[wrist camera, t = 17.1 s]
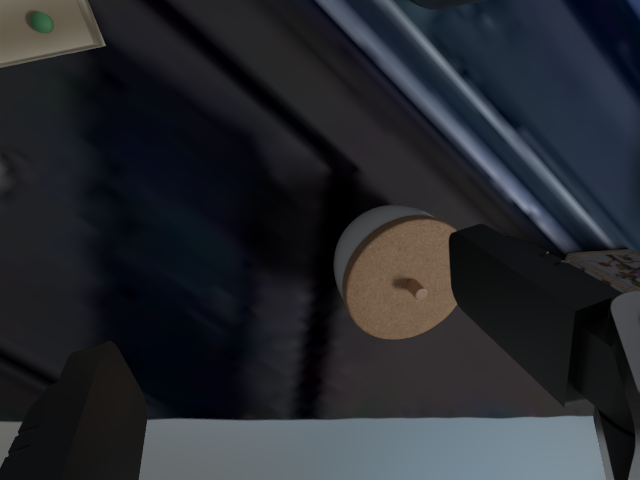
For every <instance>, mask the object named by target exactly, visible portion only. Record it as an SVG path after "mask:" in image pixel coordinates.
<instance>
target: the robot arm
mask: <svg viewBox="0 0 640 480" xmlns="http://www.w3.org/2000/svg"><path fill="white" fill-rule="evenodd" d="M412 1H414V2H415V3H417V4H419V5H420V6H422V7H425V8H428V9H445V8H450V7H455V6H460V5H465V4H471V3H476V2H481V1H486V0H412ZM449 260H450V278H451V289H452V293H453V296H454V298H455V300H456V302H457V304H458V306H459V307H460V308H461V309H462V311H463V312H465V313H466V314H467V315H468V316H469V317H470V318H471V319H472V320H473V321H474V322H475V323H476V324H477V325H478V326H479V327H480V328H481V329H482V330H483V331H484V332H486V333H487V334H488V335H489V336H490V337H491V338H492V339H493V340H494V341H495V342H496V343H497V344H498V345H499V346H500V347H501V348H502V349H503V350H504V351H506V352H507V353H508V354H509V355H510V356H511V357H512V358H513V359H514V360H515V361H516V362H517V363H518V364H519V365H520V366H521V367H522V368H523V369H524V370H525V371H527V372H528V373H529V374H530V375H531V376H532V377H533V378H534V379H535V380H536V381H537V382H538V383H539V384H540V385H541V386H542V387H543V388H544V389H545V390H547V391H548V392H549V393H550V394H551V395H552V396H553V397H554V398H555V399H556V400H557V401H558V402H559V403H560V404H561V405H562V406H563V407H567V406H569V405H572V404H574V403H576V402H579V401H581V400H584V399H587V400H589V401H590V402H591V403H592V404H593V405H594V406H595V408H594V414H593V417H594V423H595V428H596V432H597V438H598V442H599V447H600V452H601V457H602V461H603V466H604V471H605V475H606V480H640V291H633V292H628V293H625V294H624V293H622V292H620V291H619V290H617V289H615V288H613V287H611V286H609V285H608V284H606V283H604V282H602V281H600V280H599V279H597V278H595V277H593V276H591V275H589V274H588V273H586V272H584V271H582V270H580V269H579V268H577V267H575V266H573V265H571V264H569V263H565V262H564V260H562V259H560V258H559V257H557V256H555V255H553V254H551V255H550V254H549V252H548V251H546V250H544V249H542V248H540V247H539V246H537V245H535V244H533V243H531V242H528V241H525V240H521V239H517V238H513V237H509V236H506V237H505V236H504V235H502V234H500V233H498V232H497V231H495V230H493V229H491V228H490V227H488V226H486V225H484V224H478V225H474V226H471V227H468V228H465V229H462V230H459V231H456V232H453V233H451V234H450V236H449ZM146 424H147V408H146V402H145V399H144V396H143V393H142V391H141V389H140V387H139V385H138V384H137V382H136V380H135V378H134V376H133V374H132V373H131V371H130V369H129V367H128V365H127V364H126V362H125V360H124V358H123V356H122V355H121V353H120V351H119V349H118V348H117V346H116V345H115V344H114V343H113V342H111V341H108V342H105V343H102V344H99V345H95V346H92V347H89V348H86V349H83V350H80V351H77V352H74V353H72V354H71V355H70V356H69V357H68V359H67V362H66V364H65V366H64V369H63V371H62V373H61V375H60V378H59V380H58V382H57V383H55V384H52V385H49V387H48V388H47V389H46V390H45V391H44V392H43V393H42V395H41V396H40V397H39V398H38V399H37V400H36V401H35V402H34V404H33V405H32V406H31V407H30V408H29V410H28V412H27V414H26V416H25V418H24V420H23V422H22V425H21V427H20V429H19V431H18V433H19V435H18V436H16V437H15V439H14V441H13V443H12V445H11V447H10V449H9V451H8V453H9V456H8V457H6V458H5V459H4V462H3V464H2V466H1V468H0V480H139V473H140V465H141V458H142V451H143V445H144V438H145V431H146Z"/></svg>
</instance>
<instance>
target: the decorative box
mask: <svg viewBox="0 0 640 480" xmlns="http://www.w3.org/2000/svg"><path fill="white" fill-rule="evenodd" d="M456 231H457V230H456V229H455V228H453V227H452V226H450V225H449V224H447V223H445V222H444V221H442V220H440V219H437V218H435V217H433V216H432V215H430V214H428V213H426V212H424V211H421V210H419V209H416V208H413V207H409V206H403V205H386V206H380V207H376V208H373V209H370V210H368V211H366V212H364V213H363V214H361V215H360V216H358V217H357V218H356V219H354V220H353V221H352V222H351V223H350V224H349V225H348V227H347V228H346V229H345V230H344V232H343V233H342V235H341V237H340V239H339V241H338V243H337V246H336V250H335V254H334V263H333V264H334V275H335V280H336V284H337V287H338V290H339V293H340V295H341V297H342V299H343V301H344V303H345V306H346V308H347V310H348V313H349V314H350V316H351V318H352V319H353V320H354V322H355V323H356V325H358V326H359V327H360V328H361V329H362V330H363V331H365V332H367V333H368V334H370V335H373V336H375V337H379V338H384V339H403V338H408V337H413V336H416V335H418V334H421V333H423V332H425V331H427V330H429V329H431V328H433V327H434V326H435V325H437V324H438V323H440V322H441V321H442V320H443V319H444V318H446V317H447V316H448V315H449V314H450V312H451V311H452V310H453V309H454V308H455V307H456V305H457V302H456V300H455V298H454V296H453V293H452V289H451V278H450V260H449V236H450V234H451V233H453V232H456Z"/></svg>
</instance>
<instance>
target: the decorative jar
mask: <svg viewBox="0 0 640 480" xmlns="http://www.w3.org/2000/svg"><path fill="white" fill-rule="evenodd" d="M564 262H565V263H569V264H571V265H573V266H575V267H577V268H579V269H580V270H582V271H584V272H586V273H588V274H589V275H591V276H593V277H595V278H597V279H599V280H600V281H602V282H604V283H606V284H608V285H609V286H611V287H613V288H615V289H617V290H619V291H620V292H622V293H624V294H625V293H628V292H633V291H640V253H639V252H637V251H634V250H632V249H623V250H605V251H588V252H576V253H568V254H567V255H566V258H565V261H564Z"/></svg>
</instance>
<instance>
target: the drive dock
mask: <svg viewBox="0 0 640 480" xmlns="http://www.w3.org/2000/svg"><path fill="white" fill-rule="evenodd" d="M103 46H106V45H105V43H104V40H103V38H102V35H101V33H100V30H99V28H98V25H97V23H96V20H95V18H94V15H93V13H92V10H91V7H90V5H89V2H88V0H0V68H2V67H7V66H11V65H16V64H21V63H26V62H31V61H35V60H40V59H45V58H50V57H55V56H59V55H64V54H69V53H74V52H79V51H83V50H88V49H93V48H98V47H103Z"/></svg>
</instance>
